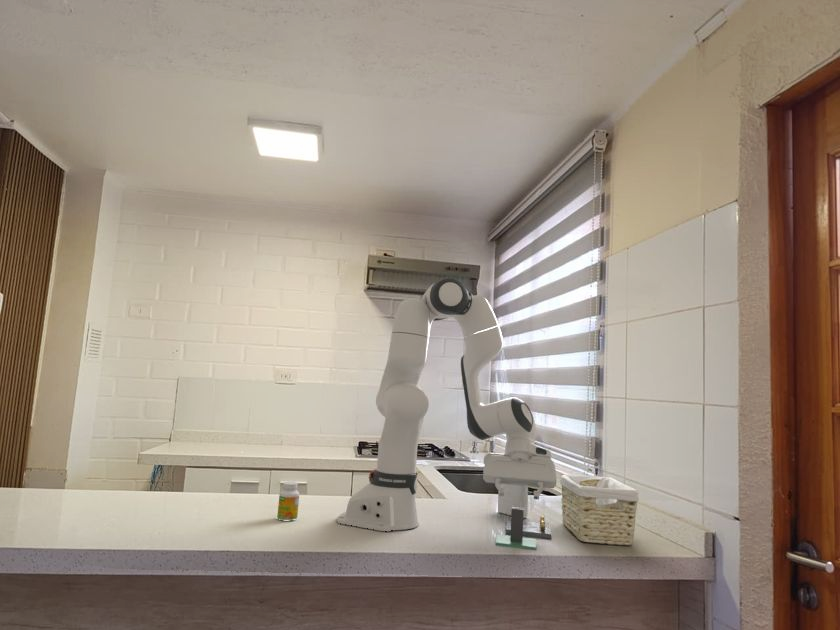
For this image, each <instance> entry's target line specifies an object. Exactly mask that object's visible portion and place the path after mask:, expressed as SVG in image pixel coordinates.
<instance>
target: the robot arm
mask: <svg viewBox="0 0 840 630" xmlns="http://www.w3.org/2000/svg"><path fill="white" fill-rule="evenodd" d="M447 318H453V319H454V320H456V322H457V323H458V324H459V326H460V329H461V331H462V332H461V333H462V336H463V338H464V343H465V349H464V354H463V355H462V356H461V358H460V371H461V380H462V387H463V392H464V401H465V407H466V422H467V423H466V424H467V429H468V430H469V433H470V434H471V435H472V436H473V437H475V438H477V439H478V440H481V441H485V440H487V439H490V438H493V437H496V436H500V435H505V434H506V436H505V437H506V442H505V446H504V447H505V449H504V453H493V452H490V453H487V454H486V455H484V457H483V464H484V466H483V471H482V476H483V477H482V478H483V480H484V482H485V483H488V484H494V485H495V488H496V490H497V492H498V491H499V496H504V488H502V487H501V486H500V484H509V485H520V486H528V487H531V488H532V487H533V488H537V490H533V500H538V501H539V500H540V495H541V493H542V492H543V491H544V488H545V489H555V487H556V486H557V470H556V465H555V462H554V460H552V452H551V451H550V449H547V448H543V447H541V446H538V445H536V443H535V441H536V437H537V433H536V430H537V429H536V423H535V417H534V414H533V413H532V411H531V409H530V407H529V406H528V405H527V403H526V402H525V401H523V400H522V399H519V398H518V397H515V396H514V397H508V398H504V399H501V400H498V401H495V402H494V401H493V402H490V403H487V404H484V403H483V402H482V397H481V389H480V385H479V375H480V372H481V371H482V369H483V368H485V366H487V365H488V364H489V363H491V362H492V361H493V360H494V359H495V358H497V356H498V355H499V354H500V352H501V351H502V349H503V344H504V339H503V335H502V331H501V328H500V326H499V322H498V319H497V317H496V314H495V312H494V310H493V308H492V306H491V304H490V303H489V300H487V298H486V297H485V296H482V295H477V294H476V295H474V294H472V293H471V292H470V291H469V290H468V289H467V288H466V287H465V285H463V283H461V282H460V281H459V280H457V279H456V278H451V277H445V278H441V279H438V280H437V281H435V282H434V283H432V284H431V285H430V286H428V288H427V289H426V290H425V292H424V293H423V294H422V296H421V297H420V298H414V297H413V298H412V297H411V298H406V299H404V300H402V301H401V302H400V303H399V305H398V308H397V310H396V314H395V317H394V321H393V325H392V331H391V335H390V342H389V343H390V344H389V349H388V350H389V351H388V356H387V361H386V364H385V367H384V370H383V375H382V378H381V380H380V385H379V389H378V392H377V394H376V397H375V405H376V408H377V410H378V411H379V413H380V414H381V415H382V416H383V417H384V423H383V424H384V425H383V428H382V433H381V435H380V437H379V438H380V439H379V440H378V449H377V450H378V452H377V462H376V464H377V465H376V468H374V469H372V471H371V472H370V473H369V474H368V479H369V480H368V481H369V483H367V484H366V485H365V486H363V487H362V488H361V489H359V490H358V491H357V492H355V493H354V494H353V495H352V496H351V497H350V498H349V500H348V501H347V502H348V503H347V506H346V509H345V511H344V512H342V513H340V514H339V515H338V516H337V521H338V522H337V523H338V524H340V523H341V524H340V525H345V524H346V526H351V525H352V526H353V527H356V526H357V528H363V529H367V528H368V529H369V530H373V529H374V530H375V531H379V532H385V531H387V532H392V531H391V530H393V531H401V530H403V531H404V530H409V529H410V530H411V529H414V528H416V527H418V526H419V524H420V523H419V521H418V520H419V519H418V513H417V505H416V493H417V490H418V489H417V488H418V472H417V461H418V460H417V459H418V457H417V456H418V445H419V440H420V435H421V431H422V427H423V423H424V419H425V416H426V415H427V412H428V410H429V406H430V404H429V398H428V395H427V394H426V392H425V391H424V390H423V389H422V388H421V387H420V386H418V383H419V381H420V377H421V375H422V372H423V371H424V368H425V366H426V362H427V355H428V347H429V340H430V334H431V333H430V332H431V327H432V323H433V322H434V321H441V320H445V319H447ZM352 526H351V527H352ZM374 530H373V531H374Z"/></svg>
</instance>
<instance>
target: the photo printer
mask: <svg viewBox="0 0 840 630" xmlns="http://www.w3.org/2000/svg"><path fill="white" fill-rule="evenodd" d="M500 486H501V487H502V488H504V496H499V491H498V490H497V492H498V494H497V512H498V513H500V514H504V515H507V516H511V510H512V507H520V508H524V514H523V519H526V518H527V517H528V510H529V509H528V504H529V501H528V500H529V498H528V496H529V486H520V485H509V484H500Z"/></svg>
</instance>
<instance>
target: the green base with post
mask: <svg viewBox="0 0 840 630" xmlns="http://www.w3.org/2000/svg"><path fill="white" fill-rule="evenodd" d="M523 514H524V508H520V507H512V510H511V515H510V516H511V517H510V518H511V519H510V520H511V534H510V535H508V534H505V535H504V534H497V537H496V541H495V545H496V546H501V547H510V548H516V549H526V550H534V551H537V538H533V537H530V538H529V537H525V536H523V521H524V518H523Z"/></svg>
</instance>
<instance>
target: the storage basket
mask: <svg viewBox="0 0 840 630" xmlns="http://www.w3.org/2000/svg"><path fill="white" fill-rule="evenodd" d="M560 485H561V504H562V505H561V511H562V513H561V517H562V518H561V519H562V524H563V526H565V527H566V528H567V529H568V530H569V531H570V533H572V534H573V535H574V536H575V537H576V538H577V540H579V541H582V542H584V543H591V544H601V545H603V544H604V545H605V544H607V545H611V546H612V545H618V546H631V545H634V538H635V529H636V516H637V514H636V513H637V511H638V502H639V500H640V499H639V491H638V490H637V489H635V488H633V487H631V486H629V485H627V484H624V483H623V482H621V481H619V480H617V479H616V478H613V477H611V476H597V475H580V474H579V475H578V474H576V475H575V474H565V473H564V474H563V475H561V476H560Z"/></svg>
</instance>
